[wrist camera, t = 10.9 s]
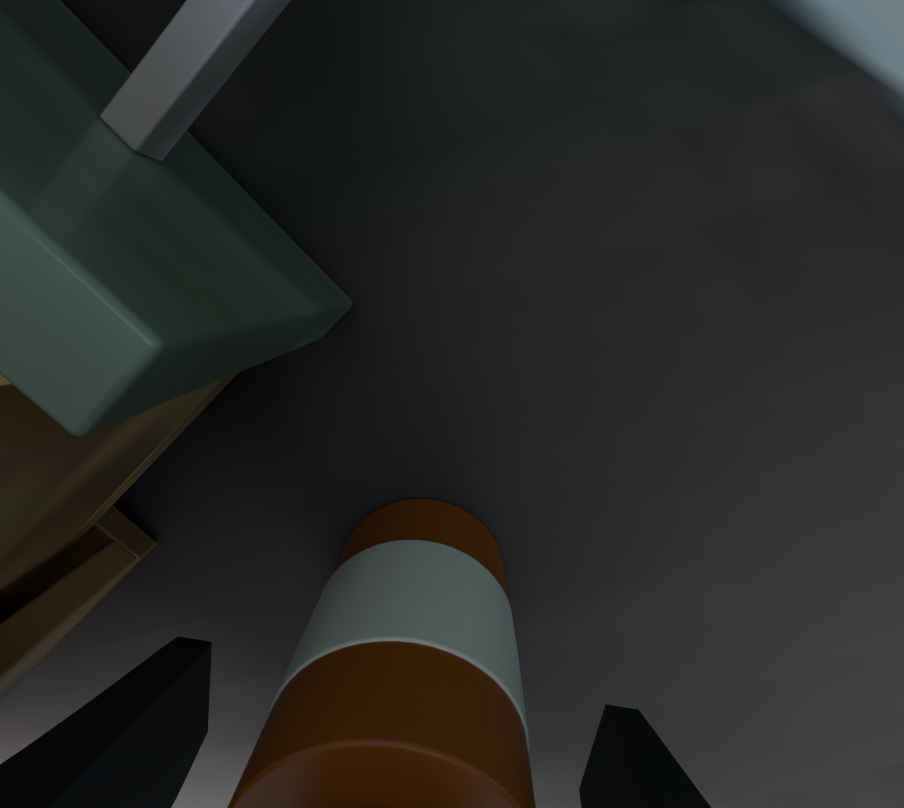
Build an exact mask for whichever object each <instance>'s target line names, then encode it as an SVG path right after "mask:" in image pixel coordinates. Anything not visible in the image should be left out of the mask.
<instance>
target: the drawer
mask: <svg viewBox="0 0 904 808" xmlns="http://www.w3.org/2000/svg"><path fill="white" fill-rule="evenodd" d="M290 1H291V0H186V2H185V3H184V4H183V6H182V7H181V8H180V10H179V11H178V12H177V14H176V15H175V16H174V18H173V19H172V20H171V22H170V23H169V24H168V26H167V27H166V28H165V30H164V31H163V32H162V34H161V35H160V36H159V38H158V39H157V40H156V42H155V43H154V44H153V46H152V47H151V48H150V50H149V51H148V52H147V54H146V55H145V56H144V58H143V59H142V60H141V62H140V63H139V64H138V66H137V67H136V68H135V70H134V71H133V72H132V74H131V73H130V72H129V71H128V70H127V69H126V68H125V67H124V66H123V65H122V64H121V63H120V61H119V60H118V59H117V58H116V57H115V56H114V55H113V54H112V53H111V52H110V51H109V50H108V49H107V48H106V47H105V46H104V45H103V44H102V43H101V42H100V41H99V40H98V39H97V38H96V37H95V36H94V35H93V34H92V33H91V32H90V31H89V30H88V29H87V27H86V26H85V25H84V24H83V23H82V22H81V21H80V20H79V19H78V18H77V17H76V16H75V15H74V14H73V13H72V12H71V11H70V10H69V9H68V8H67V7H66V6H65V5H64V4H63V3H62V2H61V1H60V0H0V623H1V622H2V621H3V620H4V619H5V618H6V617H7V616H8V615H9V614H10V613H11V612H12V610H13V609H14V608H15V607H16V606H17V605H18V604H19V603H20V602H21V601H22V600H23V599H24V598H25V597H26V596H27V595H28V594H29V593H30V592H31V590H32V589H33V588H34V587H35V586H36V585H37V584H38V583H39V582H40V581H41V580H42V579H43V578H44V577H45V576H46V575H47V574H48V573H49V572H50V571H51V569H52V568H53V567H54V566H55V565H56V564H57V563H58V562H59V561H60V560H61V559H62V558H63V557H64V556H65V555H66V554H67V553H68V552H69V551H70V549H71V548H72V547H73V546H74V545H75V544H76V543H77V542H78V541H79V540H80V539H81V538H82V537H83V536H84V535H85V534H86V533H87V532H88V531H89V529H90V528H91V527H92V526H93V525H94V524H95V523H96V522H97V521H98V520H99V519H100V518H101V517H102V516H103V515H104V514H105V513H106V512H107V511H108V510H109V508H110V507H111V506H112V505H113V504H114V503H115V502H116V501H117V500H118V499H119V498H120V497H121V496H122V495H123V494H124V493H125V492H126V491H127V490H128V488H129V487H130V486H131V485H132V484H133V483H134V482H135V481H136V480H137V479H138V478H139V477H140V476H141V475H142V474H143V473H144V472H145V471H146V470H147V468H148V467H149V466H150V465H151V464H152V463H153V462H154V461H155V460H156V459H157V458H158V457H159V456H160V455H161V454H162V453H163V452H164V451H165V450H166V448H167V447H168V446H169V445H170V444H171V443H172V442H173V441H174V440H175V439H176V438H177V437H178V436H179V435H180V434H181V433H182V432H183V431H184V430H185V429H186V427H187V426H188V425H189V424H190V423H191V422H192V421H193V420H194V419H195V418H196V417H197V416H198V415H199V414H200V413H201V412H202V411H203V410H204V409H205V407H206V406H207V405H208V404H209V403H210V402H211V401H212V400H213V399H214V398H215V397H216V396H217V395H218V394H219V393H220V392H221V391H222V390H223V389H224V387H225V386H226V385H227V384H228V383H229V382H230V381H231V380H232V379H233V378H234V377H235V376H236V375H237V374H238V373H239V372H241V371H244V370H246V369H248V368H251V367H253V366H256V365H258V364H261V363H263V362H266V361H268V360H270V359H273V358H275V357H278V356H280V355H283V354H285V353H287V352H290V351H292V350H295V349H297V348H300V347H302V346H304V345H307V344H309V343H312V342H314V341H317V340H319V339H321V338H322V337H323V336H324V335H325V334H326V333H327V332H328V331H329V329H330V328H331V327H332V326H333V325H334V324H335V323H336V322H337V321H338V320H339V319H340V318H341V317H342V316H343V315H344V314H345V313H346V312H347V311H348V310H349V309H350V308H351V307H352V305H353V303H352V300H351V299H350V298H349V297H348V296H347V295H346V294H345V293H344V292H343V291H342V290H341V289H340V288H339V287H338V286H337V285H336V284H335V283H334V282H333V281H332V280H331V279H330V278H329V277H328V276H327V275H326V274H325V273H324V272H323V270H322V269H321V268H320V267H319V266H318V265H317V264H316V263H315V262H314V261H313V260H312V259H311V258H310V257H309V256H308V255H307V254H306V253H305V252H304V251H303V250H302V249H301V248H300V247H299V246H298V245H297V244H296V243H295V242H294V241H293V240H292V239H291V238H290V237H289V235H288V234H287V233H286V232H285V231H284V230H283V229H282V228H281V227H280V226H279V225H278V224H277V223H276V222H275V221H274V220H273V219H272V218H271V217H270V216H269V215H268V214H267V213H266V212H265V211H264V210H263V209H262V208H261V207H260V206H259V205H258V204H257V203H256V201H255V200H254V199H253V198H252V197H251V196H250V195H249V194H248V193H247V192H246V191H245V190H244V189H243V188H242V187H241V186H240V185H239V184H238V183H237V182H236V181H235V180H234V179H233V178H232V177H231V176H230V175H229V174H228V173H227V172H226V171H225V170H224V169H223V168H222V166H221V165H220V164H219V163H218V162H217V161H216V160H215V159H214V158H213V157H212V156H211V155H210V154H209V153H208V152H207V151H206V150H205V149H204V148H203V147H202V146H201V145H200V144H199V143H198V142H197V141H196V140H195V139H194V138H193V137H192V136H191V135H190V134H189V133H188V131H187V129H188V128H189V127H190V125H191V124H192V123H193V122H194V120H195V119H196V118H197V117H198V115H199V114H200V113H201V112H202V110H203V109H204V108H205V107H206V105H207V104H208V103H209V102H210V101H211V99H212V98H213V97H214V96H215V94H216V93H217V92H218V91H219V89H220V88H221V87H222V86H223V84H224V83H225V82H226V81H227V79H228V78H229V77H230V76H231V74H232V73H233V72H234V71H235V69H236V68H237V67H238V66H239V64H240V63H241V62H242V61H243V59H244V58H245V57H246V56H247V54H248V53H249V52H250V51H251V49H252V48H253V47H254V46H255V44H256V43H257V42H258V41H259V39H260V38H261V37H262V36H263V34H264V33H265V32H266V31H267V29H268V28H269V27H270V26H271V24H272V23H273V22H274V21H275V19H276V18H277V17H278V16H279V14H280V13H281V12H282V11H283V10H284V8H285V7H286V6H287V5H288V3H289V2H290Z"/></svg>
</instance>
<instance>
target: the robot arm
mask: <svg viewBox="0 0 904 808" xmlns="http://www.w3.org/2000/svg"><path fill="white" fill-rule="evenodd" d="M211 646H212V642H209V641H203V640H196V639H190V638H184V637H177V638H175V639H174V640H172V641H171V642H169V643H168V644H167V645H165V646H164V647H163V648H161V649H160V650H158V651H157V652H156V653H154V654H153V655H152V656H150V657H149V658H148V659H146V660H145V661H144V662H142V663H141V664H140V665H138V666H137V667H136V668H134V669H133V670H132V671H130V672H129V673H128V674H126V675H125V676H124V677H122V678H121V679H120V680H118V681H117V682H115V683H114V684H113V685H111V686H110V687H109V688H107V689H106V690H105V691H103V692H102V693H101V694H99V695H98V696H97V697H95V698H94V699H92V700H91V701H90V702H88V703H87V704H86V705H84V706H83V707H81V708H80V709H79V710H77V711H76V712H74V713H73V714H72V715H70V716H69V717H67V718H66V719H65V720H63V721H62V722H60V723H59V724H58V725H56V726H55V727H54V728H52V729H51V730H49V731H48V732H47V733H45V734H44V735H42V736H41V737H40V738H38V739H37V740H35V741H34V742H32V743H31V744H30V745H28V746H27V747H25V748H24V749H22V750H21V751H20V752H18V753H17V754H15V755H14V756H12V757H11V758H9V759H8V760H6V761H5V762H3V763H2V764H0V808H171V806H172V805H173V803H174V801H175V800H176V797H177V795H178V793H179V791H180V789H181V787H182V785H183V783H184V781H185V779H186V777H187V775H188V773H189V771H190V768H191V766H192V764H193V762H194V760H195V758H196V756H197V753H198V751H199V749H200V747H201V745H202V743H203V740H204V738H205V736H206V734H207V732H208V713H209V691H210V668H211ZM579 791H580V799H581V807H582V808H711V807H710V806H709V804H708V803H707V802H706V800H705V799H704V798H703V796H702V795H701V794H700V792H699V791H698V789H697V788H696V787H695V785H694V784H693V783H692V781H691V780H690V779H689V777H688V776H687V775H686V773H685V772H684V771H683V769H682V768H681V767H680V765H679V764H678V762H677V761H676V760H675V758H674V757H673V756H672V754H671V753H670V751H669V750H668V749H667V747H666V746H665V745H664V743H663V742H662V741H661V739H660V738H659V736H658V735H657V734H656V732H655V731H654V730H653V728H652V727H651V726H650V724H649V723H648V722H647V720H646V719H645V718H644V716H643V715H642V714H641V712H640V711H639V710H637V709H631V708H624V707H618V706H612V705H605V708H604V711H603V714H602V718H601V721H600V724H599V727H598V730H597V734H596V737H595V740H594V743H593V747H592V750H591V753H590V756H589V759H588V763H587V766H586V769H585V772H584V775H583V779H582V782H581V785H580V788H579Z"/></svg>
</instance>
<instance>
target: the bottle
mask: <svg viewBox="0 0 904 808" xmlns="http://www.w3.org/2000/svg"><path fill="white" fill-rule="evenodd" d="M529 751H530V739H529V732H528V725H527V718H526V711H525V703H524V696H523V689H522V682H521V675H520V668H519V660H518V653H517V646H516V639H515V632H514V625H513V618H512V611H511V608H510V605H509V602H508V597H507V589H506V582H505V574H504V567H503V560H502V556H501V553H500V550H499V547H498V545H497V543H496V541H495V539H494V538H493V536H492V535H491V533H490V532H489V531H488V529H487V528H486V527H485V526H484V525H483V524H482V523H481V522H480V521H479V520H478V519H476V518H475V517H474V516H472V515H471V514H469V513H468V512H466V511H465V510H463V509H461V508H459V507H457V506H454V505H452V504H449V503H446V502H442V501H438V500H431V499H409V500H402V501H399V502H395V503H391V504H389V505H386V506H384V507H382V508H380V509H378V510H376V511H375V512H373V513H371V514H370V515H369V516H368V517H366V518H365V519H364V520H363V521H362V522H361V523H360V524H359V525H358V526H357V527H356V528H355V530H354V531H353V533H352V534H351V536H350V538H349V539H348V541H347V543H346V546H345V548H344V550H343V552H342V554H341V557H340V559H339V561H338V563H337V566H336V568H335V570H334V572H333V574H332V576H331V578H330V579H329V580H328V582H327V584H326V586H325V588H324V589H323V591H322V593H321V596H320V598H319V600H318V602H317V604H316V607H315V609H314V611H313V613H312V615H311V617H310V620H309V622H308V624H307V626H306V628H305V631H304V633H303V635H302V637H301V639H300V641H299V644H298V646H297V648H296V650H295V652H294V655H293V657H292V659H291V661H290V663H289V666H288V668H287V670H286V672H285V674H284V676H283V679H282V681H281V683H280V685H279V687H278V690H277V692H276V694H275V696H274V698H273V701H272V704H271V706H270V709H269V712H268V717H267V721H266V723H265V726H264V728H263V730H262V732H261V734H260V737H259V739H258V741H257V743H256V746H255V748H254V750H253V752H252V754H251V757H250V759H249V761H248V763H247V766H246V768H245V770H244V772H243V774H242V777H241V779H240V781H239V783H238V786H237V788H236V790H235V792H234V794H233V797H232V799H231V801H230V803H229V806H228V808H536V807H535V799H534V792H533V784H532V777H531V769H530V762H529Z"/></svg>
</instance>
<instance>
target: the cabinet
mask: <svg viewBox="0 0 904 808" xmlns="http://www.w3.org/2000/svg"><path fill="white" fill-rule="evenodd" d="M155 546H156V541H155V540H154V539H152V538H151V537H150V536H149V535H148V534H146V533H145V532H144V531H143V530H142V529H140V528H139V527H138V526H137V525H136V524H134V523H133V522H132V521H131V520H130V519H128V518H127V517H126V516H125V515H124V514H122V513H121V512H120V511H119V510H118V509H116V508H115V507H114V506H113V505H112V506H111V507H110V508H109V510H108V511H107V512H106V513H105V514H104V515H103V516H102V517H101V518H100V519H99V520H98V521H97V522H96V523H95V524H94V525H93V526H92V527H91V528H90V529H89V531H88V532H87V533H86V534H85V535H84V536H83V537H82V538H81V539H80V540H79V541H78V542H77V543H76V544H75V545H74V546H73V547H72V548H71V549H70V551H69V552H68V553H67V554H66V555H65V556H64V557H63V558H62V559H61V560H60V561H59V562H58V563H57V564H56V565H55V566H54V567H53V568H52V569H51V571H50V572H49V573H48V574H47V575H46V576H45V577H44V578H43V579H42V580H41V581H40V582H39V583H38V584H37V585H36V586H35V587H34V588H33V589H32V590H31V592H30V593H29V594H28V595H27V596H26V597H25V598H24V599H23V600H22V601H21V602H20V603H19V604H18V605H17V606H16V607H15V608H14V609H13V610H12V612H11V613H10V614H9V615H8V616H7V617H6V618H5V619H4V620H3V621H2V622H1V623H0V700H1V699H2V698H3V697H4V696H5V695H6V694H7V693H8V692H9V691H10V690H11V689H12V688H13V687H14V686H15V685H16V684H17V683H18V682H19V681H20V680H21V679H22V678H23V677H24V676H25V675H26V674H27V673H28V672H29V671H30V670H31V669H32V668H33V667H34V666H35V665H36V664H37V663H38V662H39V661H40V660H41V659H42V658H43V657H44V656H45V655H46V654H47V653H48V652H49V651H50V650H51V649H52V648H53V647H54V646H55V645H56V644H57V643H58V642H59V641H60V640H61V639H62V638H63V637H64V636H65V635H66V634H67V633H68V632H69V631H70V630H71V629H72V628H73V627H74V626H75V625H76V624H77V623H78V622H79V621H80V620H81V619H82V618H83V617H84V616H85V615H86V614H87V613H88V612H89V611H90V610H91V609H92V608H93V607H94V606H95V605H97V604H98V603H99V602H100V601H101V600H102V599H103V598H104V597H105V596H106V595H107V594H108V593H109V592H110V591H111V590H112V589H113V588H114V587H115V586H116V585H117V584H118V583H119V582H120V581H121V580H122V579H123V578H124V577H125V576H126V575H127V574H128V573H129V572H130V571H131V570H132V569H133V568H134V567H135V566H136V565H137V564H138V563H139V562H140V561H141V560H142V559H143V558H144V557H145V556H146V555H147V554H148V553H149V552H150V551H151V550H152V549H153V548H154V547H155Z"/></svg>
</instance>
